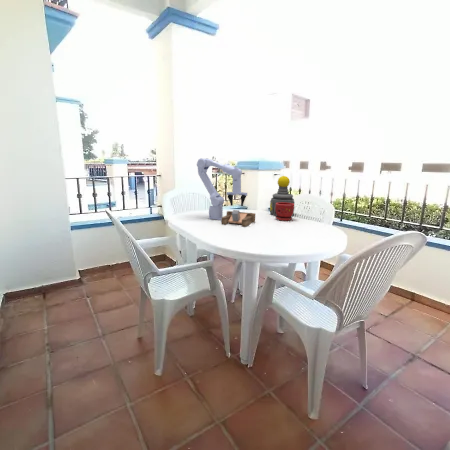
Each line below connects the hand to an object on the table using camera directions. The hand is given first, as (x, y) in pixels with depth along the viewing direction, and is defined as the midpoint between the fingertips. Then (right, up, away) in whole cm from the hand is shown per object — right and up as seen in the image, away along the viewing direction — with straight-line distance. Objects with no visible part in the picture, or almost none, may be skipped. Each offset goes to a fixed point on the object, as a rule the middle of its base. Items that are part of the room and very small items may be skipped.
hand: (236, 205), depth 191 cm
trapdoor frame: (0, -12, -6) cm, 14 cm away
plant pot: (+34, -10, +7) cm, 36 cm away
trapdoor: (0, -9, -6) cm, 11 cm away
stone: (-1, -10, -8) cm, 13 cm away
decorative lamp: (+36, -5, +25) cm, 45 cm away
